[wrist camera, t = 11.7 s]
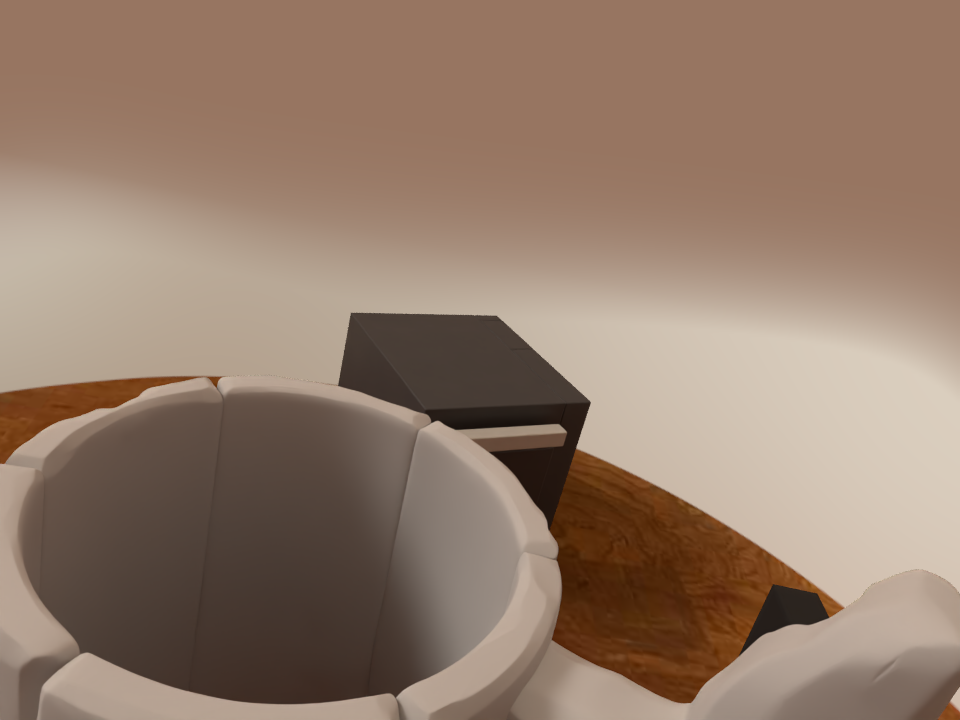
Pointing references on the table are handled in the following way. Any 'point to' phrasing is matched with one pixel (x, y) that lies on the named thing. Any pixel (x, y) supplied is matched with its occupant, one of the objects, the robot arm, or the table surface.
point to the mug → (358, 581)
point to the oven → (473, 389)
